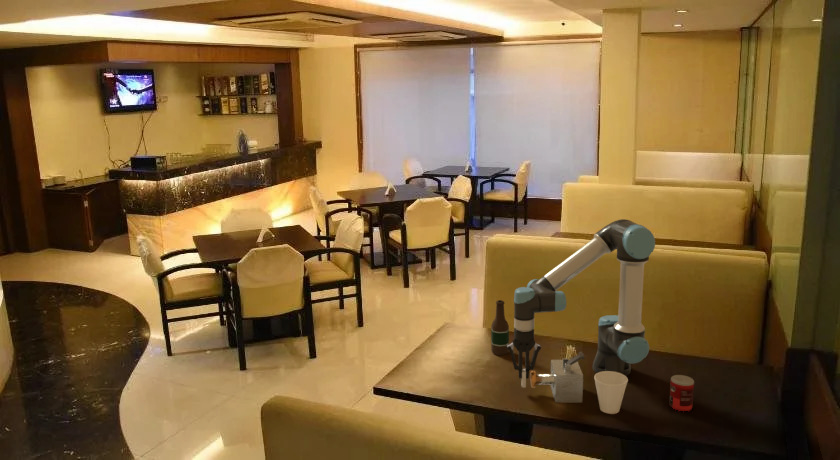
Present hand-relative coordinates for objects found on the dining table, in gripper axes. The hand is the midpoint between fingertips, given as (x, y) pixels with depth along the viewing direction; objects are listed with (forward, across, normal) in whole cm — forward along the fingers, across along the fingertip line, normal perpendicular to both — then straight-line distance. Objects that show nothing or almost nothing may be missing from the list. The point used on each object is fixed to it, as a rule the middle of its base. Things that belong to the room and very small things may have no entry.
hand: (523, 385), depth 256 cm
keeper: (-10, -19, 0) cm, 22 cm away
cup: (+4, -30, +12) cm, 33 cm away
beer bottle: (+4, +7, -40) cm, 41 cm away
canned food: (+4, -56, +10) cm, 57 cm away
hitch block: (+3, -16, 0) cm, 17 cm away
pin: (+1, -12, 0) cm, 12 cm away
